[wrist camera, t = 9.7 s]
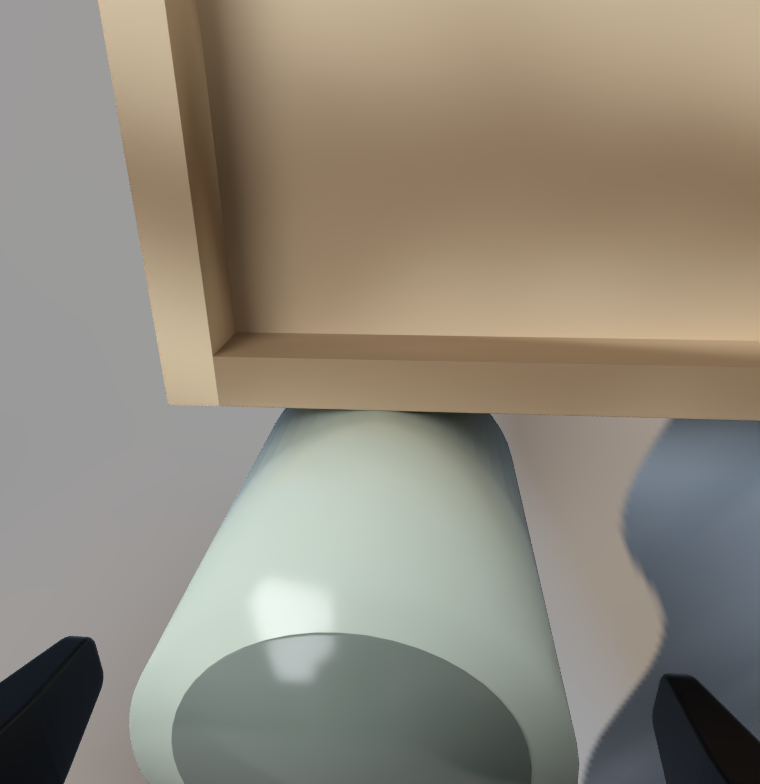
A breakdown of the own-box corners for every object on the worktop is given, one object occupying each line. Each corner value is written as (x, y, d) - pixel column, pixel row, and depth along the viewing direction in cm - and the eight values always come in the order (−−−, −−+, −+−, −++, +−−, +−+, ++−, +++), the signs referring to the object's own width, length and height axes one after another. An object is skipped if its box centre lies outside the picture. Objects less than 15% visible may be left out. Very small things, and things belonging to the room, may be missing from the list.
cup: (504, 585, 15) (554, 916, 9) (275, 574, 16) (166, 880, 9) (524, 368, 13) (611, 609, 6) (251, 363, 13) (82, 583, 7)
